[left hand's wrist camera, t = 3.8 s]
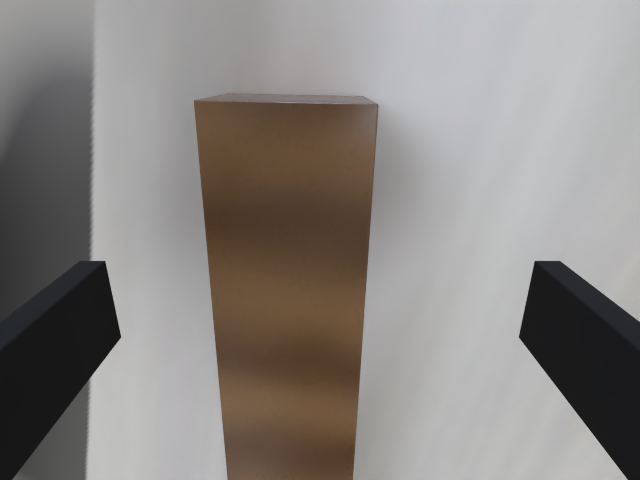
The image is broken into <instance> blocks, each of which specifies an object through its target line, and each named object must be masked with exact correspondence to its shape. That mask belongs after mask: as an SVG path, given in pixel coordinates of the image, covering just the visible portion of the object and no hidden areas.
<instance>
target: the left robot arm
mask: <svg viewBox="0 0 640 480" xmlns="http://www.w3.org/2000/svg"><path fill="white" fill-rule="evenodd" d="M120 338H121V334H120V330H119V325H118V320H117V315H116V311H115V306H114V301H113V296H112V291H111V287H110V282H109V277H108V272H107V268H106V263H105V261H79V262H78V263H77V264H76V265H74V266H73V267H72V268H70V269H69V270H68V271H66V272H65V273H64V274H63V275H61V276H60V277H59V278H57V279H56V280H55V281H53V282H52V283H51V284H49V285H48V286H47V287H46V288H44V289H43V290H42V291H40V292H39V293H38V294H36V295H35V296H34V297H32V298H31V299H30V300H29V301H27V302H26V303H25V304H23V305H22V306H21V307H19V308H18V309H17V310H16V311H14V312H13V313H12V314H10V315H9V316H8V317H6V318H5V319H4V320H2V321H1V322H0V480H12V479H13V478H14V476H15V475H16V474H17V473H18V471H19V470H20V469H21V467H22V466H23V465H24V463H25V462H26V461H27V460H28V458H29V457H30V456H31V454H32V453H33V452H34V450H35V449H36V448H37V446H38V445H39V444H40V443H41V441H42V440H43V439H44V437H45V436H46V435H47V433H48V432H49V431H50V429H51V428H52V427H53V425H54V424H55V423H56V422H57V420H58V419H59V418H60V416H61V415H62V414H63V412H64V411H65V410H66V408H67V407H68V406H69V405H70V403H71V402H72V401H73V399H74V398H75V397H76V395H77V394H78V393H79V392H80V390H81V389H82V388H83V386H84V385H85V384H86V382H87V381H88V380H89V379H90V377H91V376H92V375H93V373H94V372H95V371H96V369H97V368H98V367H99V365H100V364H101V363H102V362H103V360H104V359H105V358H106V356H107V355H108V354H109V352H110V351H111V350H112V348H113V347H114V346H115V345H116V343H117V342H118V341H119V339H120ZM519 338H520V339H521V341H522V342H523V343H524V345H525V346H526V347H527V348H528V350H529V351H530V352H531V354H532V355H533V356H534V358H535V359H536V360H537V362H538V363H539V364H540V365H541V367H542V368H543V369H544V371H545V372H546V373H547V375H548V376H549V377H550V379H551V380H552V381H553V382H554V384H555V385H556V386H557V388H558V389H559V390H560V392H561V393H562V394H563V395H564V397H565V398H566V399H567V401H568V402H569V403H570V405H571V406H572V407H573V409H574V410H575V411H576V412H577V414H578V415H579V416H580V418H581V419H582V420H583V422H584V423H585V424H586V426H587V427H588V428H589V429H590V431H591V432H592V433H593V435H594V436H595V437H596V439H597V440H598V441H599V443H600V444H601V445H602V446H603V448H604V449H605V450H606V452H607V453H608V454H609V456H610V457H611V458H612V460H613V461H614V462H615V463H616V465H617V466H618V467H619V469H620V470H621V471H622V473H623V474H624V475H625V476H626V478H627V479H628V480H640V322H639V321H638V320H636V319H635V318H634V317H632V316H631V315H630V314H628V313H627V312H626V311H625V310H623V309H622V308H621V307H619V306H618V305H617V304H615V303H614V302H613V301H611V300H610V299H609V298H608V297H606V296H605V295H604V294H602V293H601V292H600V291H598V290H597V289H596V288H594V287H593V286H592V285H591V284H589V283H588V282H587V281H585V280H584V279H583V278H581V277H580V276H579V275H577V274H576V273H575V272H574V271H572V270H571V269H570V268H568V267H567V266H566V265H564V264H563V263H562V262H561V261H535V263H534V268H533V272H532V277H531V282H530V287H529V291H528V296H527V301H526V306H525V311H524V315H523V320H522V325H521V330H520V334H519Z"/></svg>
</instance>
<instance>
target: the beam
mask: <svg viewBox="0 0 640 480" xmlns="http://www.w3.org/2000/svg"><path fill="white" fill-rule="evenodd" d="M194 107H195V118H196V129H197V141H198V152H199V163H200V174H201V185H202V196H203V208H204V219H205V230H206V241H207V252H208V264H209V275H210V286H211V297H212V308H213V319H214V331H215V342H216V353H217V364H218V375H219V386H220V398H221V409H222V420H223V431H224V442H225V453H226V465H227V476H228V480H353V469H354V454H355V439H356V425H357V410H358V395H359V381H360V366H361V351H362V337H363V322H364V307H365V293H366V278H367V264H368V249H369V234H370V220H371V205H372V190H373V176H374V161H375V146H376V132H377V117H378V104H377V103H375V102H373V101H371V100H369V99H367V98H365V97H363V96H320V95H271V94H224V95H219V96H213V97H208V98H203V99H198V100H194Z"/></svg>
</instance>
